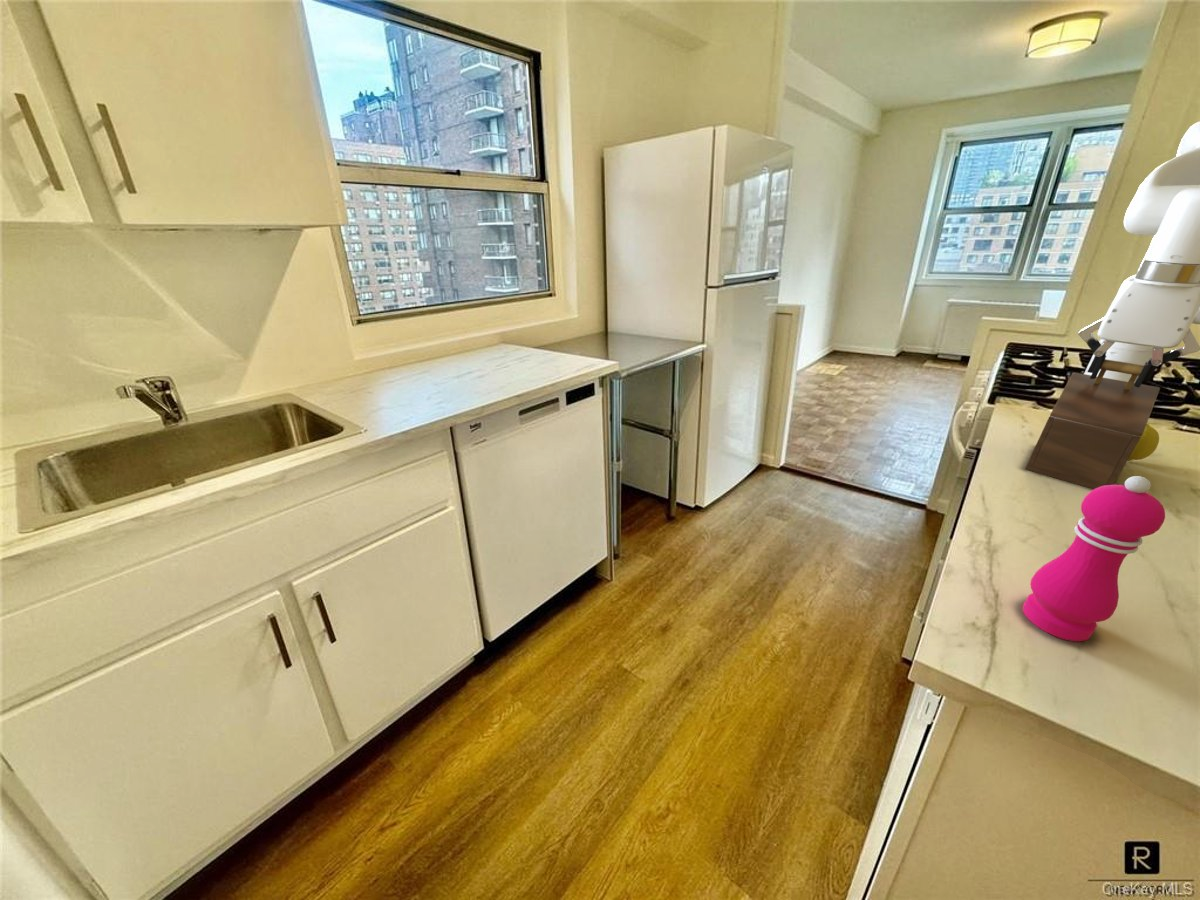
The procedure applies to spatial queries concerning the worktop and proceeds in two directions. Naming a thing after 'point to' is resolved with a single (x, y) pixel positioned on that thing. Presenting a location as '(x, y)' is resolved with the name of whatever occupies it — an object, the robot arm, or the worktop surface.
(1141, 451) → the lemon
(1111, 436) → the chest
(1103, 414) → the lid
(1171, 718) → the worktop surface
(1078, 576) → the pepper mill
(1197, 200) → the robot arm
